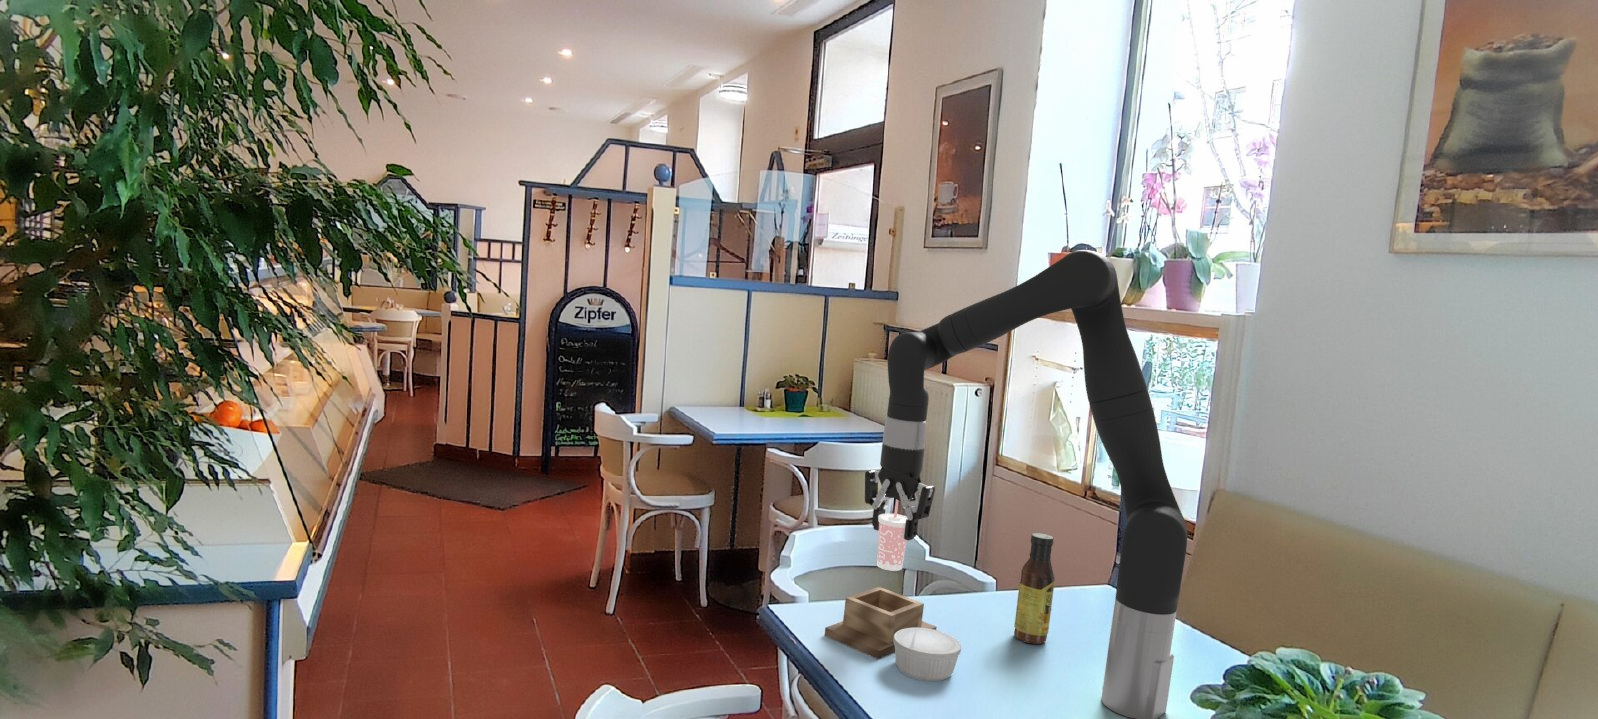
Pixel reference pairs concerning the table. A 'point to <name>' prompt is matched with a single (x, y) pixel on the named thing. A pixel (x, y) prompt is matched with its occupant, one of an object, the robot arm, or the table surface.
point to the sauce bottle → (1035, 592)
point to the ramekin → (926, 653)
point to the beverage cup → (891, 540)
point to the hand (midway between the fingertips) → (893, 534)
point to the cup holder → (876, 621)
